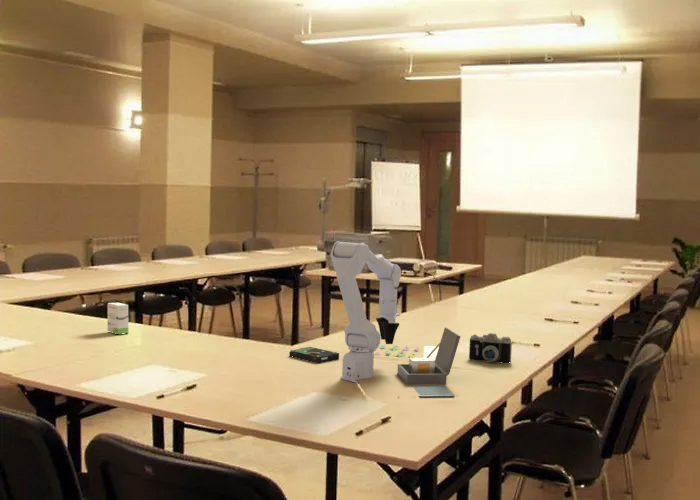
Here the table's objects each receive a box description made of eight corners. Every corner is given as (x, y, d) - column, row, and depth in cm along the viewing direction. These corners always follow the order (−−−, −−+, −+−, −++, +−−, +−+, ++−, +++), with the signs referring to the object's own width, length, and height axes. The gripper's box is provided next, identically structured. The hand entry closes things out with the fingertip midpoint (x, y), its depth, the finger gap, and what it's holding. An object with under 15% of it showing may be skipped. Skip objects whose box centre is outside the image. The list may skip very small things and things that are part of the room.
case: (407, 387, 227) (408, 335, 226) (396, 375, 241) (398, 326, 240) (458, 387, 229) (460, 335, 228) (445, 375, 244) (447, 326, 243)
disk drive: (339, 361, 264) (309, 353, 274) (339, 353, 264) (310, 346, 274) (318, 365, 256) (288, 357, 266) (318, 357, 256) (288, 349, 266)
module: (411, 380, 231) (412, 361, 231) (408, 376, 236) (409, 357, 236) (434, 380, 232) (435, 361, 232) (430, 376, 237) (431, 357, 237)
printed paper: (432, 364, 261) (433, 359, 261) (347, 359, 267) (347, 355, 267) (440, 347, 291) (440, 343, 291) (362, 343, 297) (363, 340, 297)
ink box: (128, 334, 299) (129, 304, 298) (117, 335, 295) (117, 305, 295) (118, 331, 305) (118, 301, 304) (106, 332, 302) (106, 302, 301)
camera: (465, 361, 266) (466, 333, 266) (470, 357, 272) (471, 330, 272) (508, 366, 261) (509, 337, 260) (511, 362, 267) (513, 334, 266)
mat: (420, 398, 215) (420, 394, 215) (412, 389, 225) (412, 386, 225) (454, 398, 216) (454, 394, 216) (444, 389, 226) (445, 385, 226)
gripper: (405, 303, 241) (403, 345, 242) (395, 297, 255) (394, 337, 256) (383, 303, 240) (381, 345, 241) (374, 297, 254) (373, 337, 255)
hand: (386, 341), depth 249 cm, fingers open, 7 cm apart
